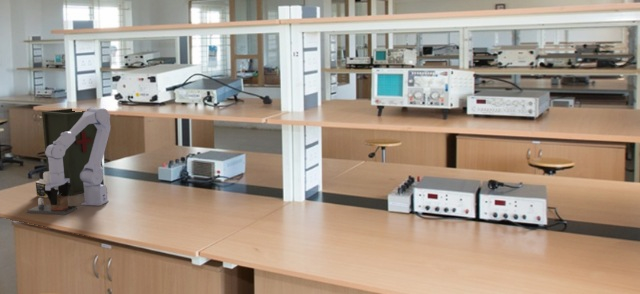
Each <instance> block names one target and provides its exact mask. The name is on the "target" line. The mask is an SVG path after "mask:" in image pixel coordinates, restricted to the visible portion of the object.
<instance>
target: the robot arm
mask: <svg viewBox="0 0 640 294" xmlns="http://www.w3.org/2000/svg"><path fill="white" fill-rule="evenodd" d="M86 109H87V111H85V112H84V113H83V115H82V117H81V118H80V119H79V120H78V122H77V123H76V124H75V125H74V126H73V127H72V128H71V130H70V131H66V132H64V133H61V134H60V135H61V136H60V137H59V138H58V139H57V140H56V141H54V142H53V144H52V145H49V146H48V147H47V148H46V151H45V150H44V154H45V157H46V156H47V157H48V162H49V173H50V182H48V185H46V186H45V189H44V192H45V193H46V194H47V196H48V197H47V198H48V199H49V200H48V201H49V204H50V203H51V205H57V196H58V195H57V193H58V190H55V189H54V188H56V187H59V190H60V193H59V194H60V196H67V199H69V198H68V197H69V195H68V193H69V190H70V187H71V184H68V183H70V179H69V178H65V179H64V167H63V156H64V155H65V151H66V150H67V149H68V147H69V146H70V145H71V144H72V143H73V142H74V141H75V136H76V135H77V134H78V133H80V132H81V131H82V130H83V129H84V128H85V127H86V126H87V125H88V124H94V125H95V127H96V128H97V133H96V137H95V140H94V144H93V148H92V151H91V155H90V159H89V162H88V163H87V164H86V165H85V166H84V169H83V170H82V172H81V173H80V179H81V180H82V181H83V184H84V193H83V194H84V202H82V203H80V205H81V206H96V207H97V206H98V207H99V206H102V205H104V204H106V203H108V202H109V198H108V197H109V196H108V189H107V186H106V185H105V184H104V185H102V184H101V182H102V180H104V167H103V168H102V166H103V165H102V166H101V163H102V164H103V159H104V154H105V151H106V147H107V144H108V139H109V136H110V134H111V128H112V127H111V122H110V120H111V119H110V118H111V114H110V113H109V111H108V110H107V109H106V108H99V107H94V106H93V107H92V106H91V107H90V106H89V107H88V108H86Z"/></svg>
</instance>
